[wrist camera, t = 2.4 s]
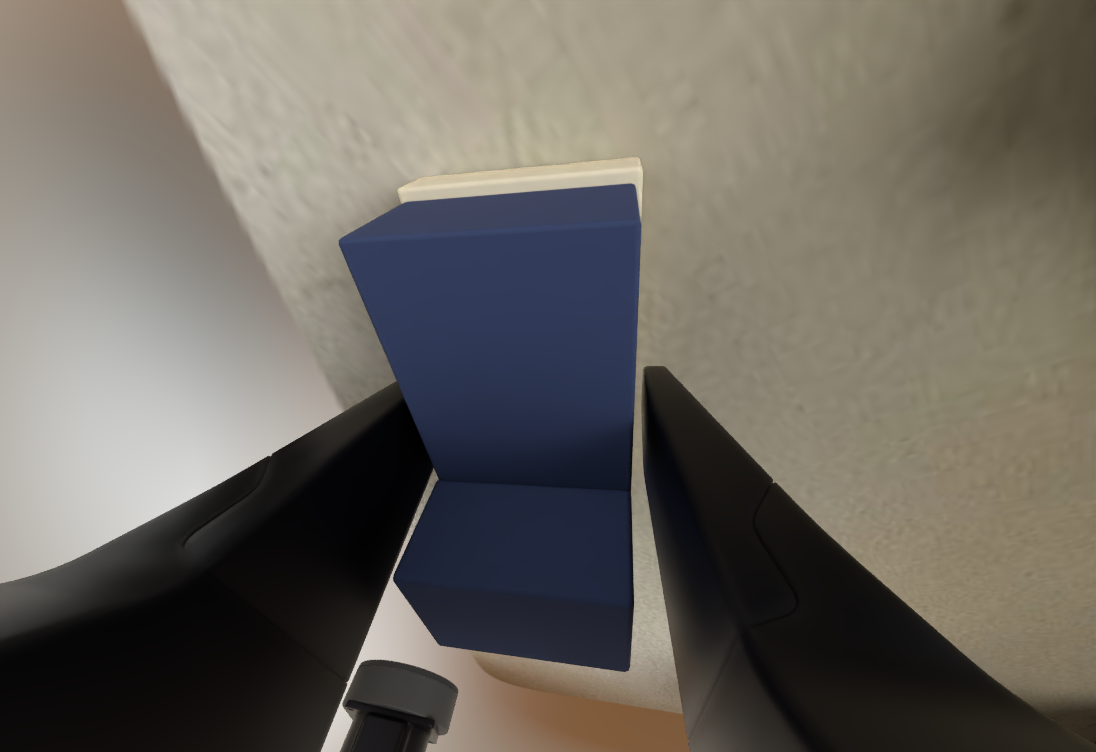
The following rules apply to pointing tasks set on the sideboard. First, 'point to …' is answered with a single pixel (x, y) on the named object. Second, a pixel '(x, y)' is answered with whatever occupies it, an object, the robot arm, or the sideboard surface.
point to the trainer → (516, 400)
